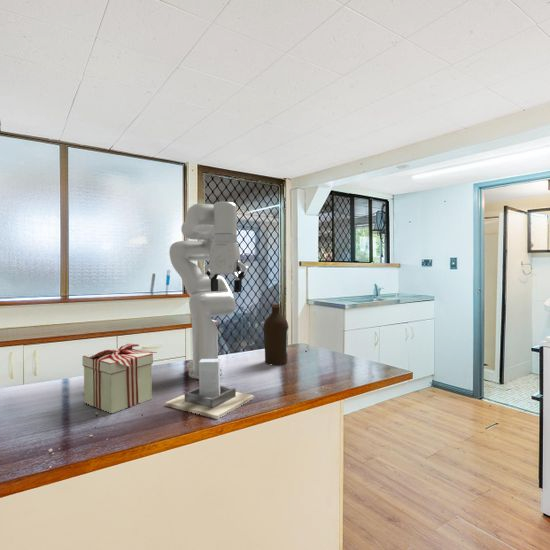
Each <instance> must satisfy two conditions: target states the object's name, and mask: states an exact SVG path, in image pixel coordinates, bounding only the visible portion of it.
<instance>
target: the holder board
mask: <svg viewBox="0 0 550 550" xmlns="http://www.w3.org/2000/svg"><path fill="white" fill-rule="evenodd" d="M236 390H237V389H236V388H233V387H230V386H224V385H220V395H218V396H216V397H214V398H210V397H205V396H201V395H200V394H199V386H198V387H195V388H193V389H192V390H189V391H187V392H184V394H182V395H179V396H177V397H175V398H173V399H171V400H168V401H166V402H165V407H169V408H173V409H177V410H180V411H185V412H187V411H188V413H191V412H192V414H195V413H196V415H199V414H200V415H199V416H202V417H207V418H210V417H211V418H212V419H214V420H219V419H221V418H222V416H223V417H224V416H226V415H228V414H230V413H231V412H233V411H235V410H237V409H239V408H241V407H242V406H243V404H244V405H245V404H247V403H248V402H251V401H252V400H254V399H255V396H254V395H253V394H249V393H243V392H240V391H236ZM250 400H251V401H250ZM241 405H242V406H241ZM236 408H237V409H236ZM229 412H230V413H229ZM227 413H228V414H227ZM220 417H221V418H220ZM211 418H210V419H211Z"/></svg>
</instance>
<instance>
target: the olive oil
mask: <svg viewBox="0 0 550 550" xmlns="http://www.w3.org/2000/svg"><path fill="white" fill-rule="evenodd" d="M280 309H281V308H280V303H272V304H271V313H270V314H269V316H267V318H265V320H264V323H263V339H264V340H263V341H264V342H263V343H264V362H266V363H268V364H267V365H269V364H272V365H271V366H281V365H280V364H283V365H286V364H287V363H288V351H289V350H288V349H289V348H288V347H289V346H288V345H289V323H288V321H287V319H286V318H285V317H284V316H283V315H282V313H281V312H280V311H281V310H280ZM266 363H265V364H266ZM285 363H286V364H285Z"/></svg>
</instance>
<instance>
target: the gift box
mask: <svg viewBox="0 0 550 550" xmlns="http://www.w3.org/2000/svg"><path fill="white" fill-rule="evenodd" d="M135 347H140V344H137V343H127V344H125V345H121V346H120V347H118V348H114V349H104V350H102V351H99V352H93V353H90V354H86V355H85V354H84V355H82V360H81V361H82V366H83V392H84V393H83V397H84V399H83V401H84V402H85V403H84V404H86V403H87V404H86V405H88V404H90V405H89V406H91V405H92V406H91V407H93V406H94V407H93V408H95V407H96V409H98V408H99V409H98V410H100V409H102V410H101V411H103V410H104V411H103V412H105V411H107V412H106V413H108V412H109V413H108V414H110V413H112V414H115V413H118V412H120V410H121V411H123V409H124V410H126V409H125V408H127V409H129V408H132V407H134V405H135V406H138V405H140V404H143V403H146V402H148V401H150V400H151V401H152V397H153V395H152V394H153V391H152V389H153V388H152V387H153V385H152V383H153V382H152V379H153V378H152V377H153V374H152V372H153V370H152V369H153V368H152V366H153V365H152V364H154V354H155V353H157V351H151V350H148V349H135ZM145 401H146V402H145ZM142 402H143V403H142ZM139 403H140V404H139ZM137 404H138V405H137ZM131 406H132V407H131ZM117 411H118V412H117ZM114 412H115V413H114Z"/></svg>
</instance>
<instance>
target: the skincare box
mask: <svg viewBox="0 0 550 550" xmlns="http://www.w3.org/2000/svg"><path fill="white" fill-rule="evenodd" d="M220 362H221V361H220V358H218V359H201V360H200V361H199V379H198V382H199V383H198V387H199V394H200V395H201V396H205V397H210V398H214V397H216V396H218V395H220V386H221V375H220V369H221V367H220V366H221V365H220Z"/></svg>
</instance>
